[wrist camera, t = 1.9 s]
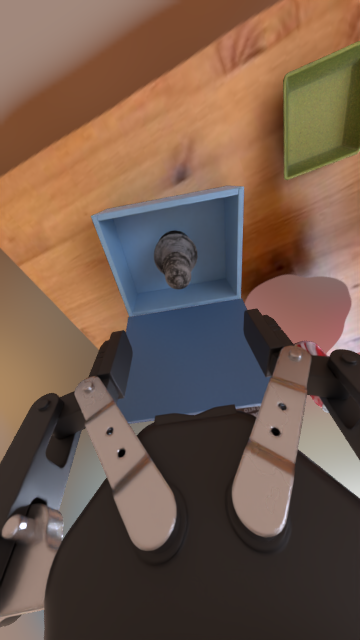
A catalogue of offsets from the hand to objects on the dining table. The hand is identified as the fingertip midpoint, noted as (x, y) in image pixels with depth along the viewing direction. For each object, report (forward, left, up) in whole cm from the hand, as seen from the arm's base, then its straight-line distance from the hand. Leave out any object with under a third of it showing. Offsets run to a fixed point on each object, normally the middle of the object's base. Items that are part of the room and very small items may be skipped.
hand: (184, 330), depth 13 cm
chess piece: (0, 0, -20) cm, 20 cm away
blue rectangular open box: (0, 0, -20) cm, 20 cm away
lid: (0, +7, -6) cm, 10 cm away
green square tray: (-18, -11, -20) cm, 29 cm away
